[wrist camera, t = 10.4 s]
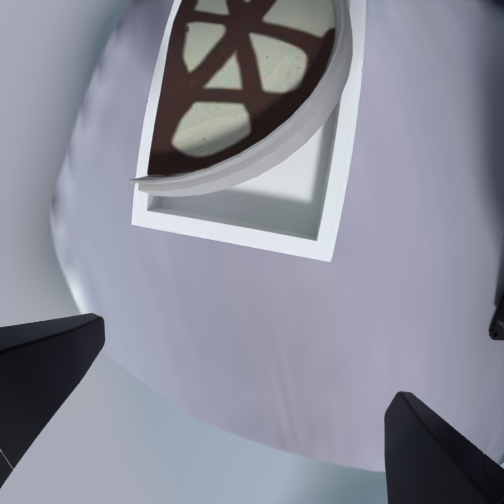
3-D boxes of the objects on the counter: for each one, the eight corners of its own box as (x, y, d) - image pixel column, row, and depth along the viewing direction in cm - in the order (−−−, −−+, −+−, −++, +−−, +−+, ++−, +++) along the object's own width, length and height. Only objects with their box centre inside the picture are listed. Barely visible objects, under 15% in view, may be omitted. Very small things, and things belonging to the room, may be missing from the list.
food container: (313, 205, 17) (335, 236, 8) (213, 188, 18) (126, 200, 8) (339, 25, 14) (363, -77, 5) (245, 13, 15) (204, -86, 5)
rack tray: (360, 3, 14) (366, -15, 12) (326, 251, 19) (330, 262, 16) (195, -10, 15) (184, -27, 13) (149, 218, 20) (131, 224, 17)
